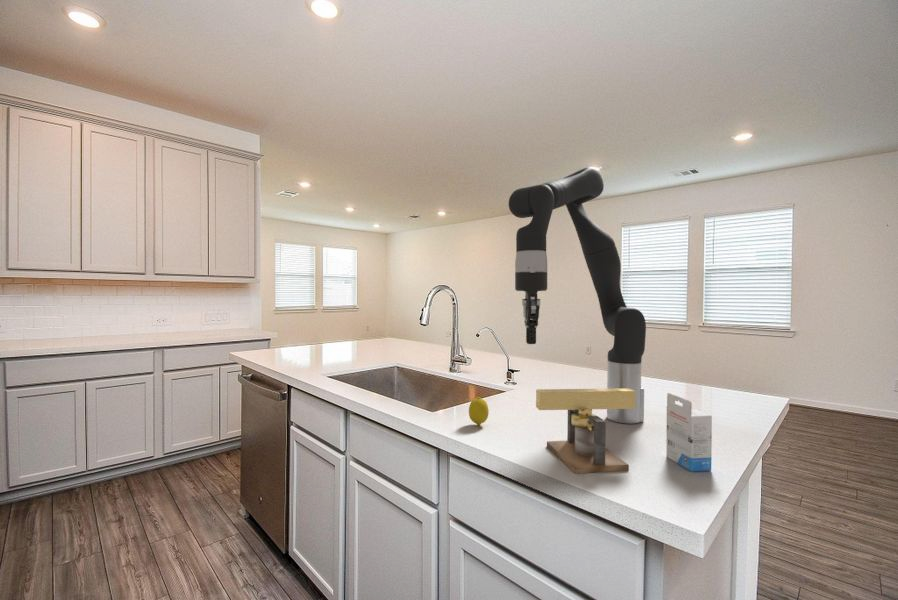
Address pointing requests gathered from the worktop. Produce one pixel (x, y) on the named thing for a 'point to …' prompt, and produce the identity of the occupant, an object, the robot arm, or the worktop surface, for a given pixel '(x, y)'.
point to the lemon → (478, 411)
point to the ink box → (688, 435)
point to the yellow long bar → (584, 402)
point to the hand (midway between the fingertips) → (531, 343)
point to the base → (585, 460)
